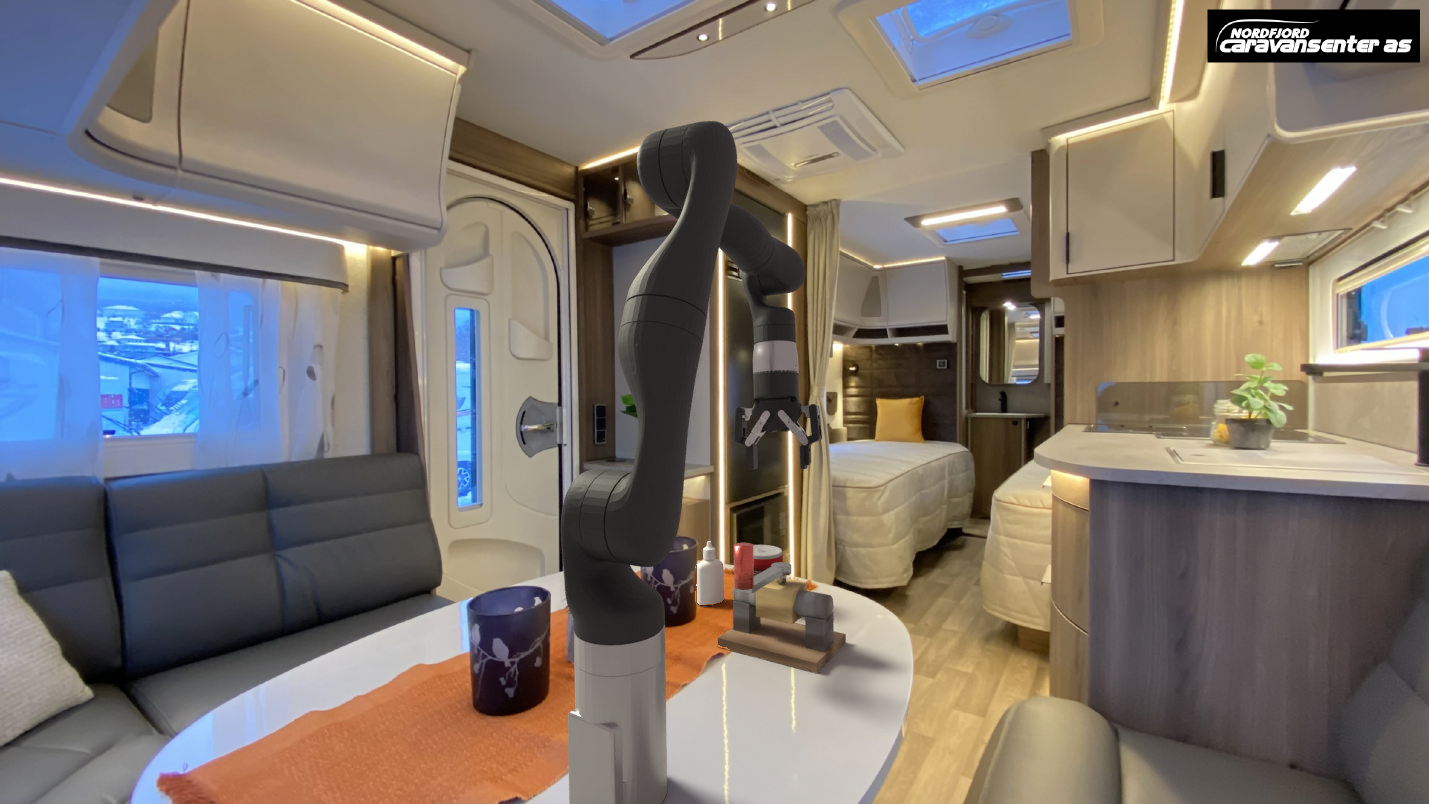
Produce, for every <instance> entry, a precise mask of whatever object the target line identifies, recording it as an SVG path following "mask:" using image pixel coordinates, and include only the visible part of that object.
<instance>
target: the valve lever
mask: <svg viewBox="0 0 1429 804" xmlns="http://www.w3.org/2000/svg"><path fill="white" fill-rule="evenodd" d="M753 545H754V544H753V543H751V542H737V543H735V544H733V569H734V570H733V575H734V576H733V582H734V583H733V588H734V587H735V588H736V589H739V590H740V591H741V592H746V593H751V594H752V593H754V592H756V591H757V590H759V589H760V588H762V587H764V586H765V585H767V584H769V583H770V582H772V581H774V580H775V579H776V582H777V583H786V578H787V576H790V575H791V574H792V564H791V563H790V562H789V563H788V562H777V563H773V564H771V567H770V568H768V569H766V570H765V571H763V572H761V573H759V574H758V575H756V576H754V561H753Z"/></svg>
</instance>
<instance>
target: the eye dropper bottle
mask: <svg viewBox="0 0 1429 804" xmlns="http://www.w3.org/2000/svg"><path fill="white" fill-rule="evenodd" d="M716 553H717V551H716V547H714V546H713V545H712V540H708V541H706V546H705V547H703V548H702V556H703V557H702V558H703V559H702V560H700V561H699V562H698V563H697V564H696V565H697V584H696V586H697V603H698V604H699V605H698V604H697V603H696V604H697V605H698V606H700V605H706V604H714V603H718V602H721V601H723V600H725V571H724V570H725V569H724V567H725V566H724V563H723V562H722V561H721V560H720V559H717V558H716V557H717V554H716ZM723 602H724V601H723ZM721 603H722V602H721Z"/></svg>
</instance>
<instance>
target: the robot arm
mask: <svg viewBox="0 0 1429 804" xmlns="http://www.w3.org/2000/svg"><path fill="white" fill-rule="evenodd" d="M636 166H637V167H636V169H637V174H638V178H639V181H640V184H641V187H642V189H643V190H644V193H645V194H646V195H647V197H648V198H649V200H651V201H652V202H653V203H654V205H656V206H657V207H658V208H659V209H661V210H663V211H664V212H666V213H667V214H669V215H670V216H672V217H673V218H675V219H676V220H677V221H676V223H675V225H674V227H673V228H672V230H671V231H670V232H669V234H668V235H667V237H666V238H665V239H664V240H663V242H662V243H661V244H660V245H659V247H658V248H657V249H656V250H655V252H654V253H653V254H652V255H651V256H650V257H649V259H648V260H647V261H646V262H645V264H644V265H643V266H642V268H641V269H640V271H639V272H638V274H637V275H636V276H635V278H634V280H633V281H632V283H631V284H630V286H629V289H628V291H627V295H626V299H625V303H624V307H623V311H622V316H621V321H620V324H619V325H620V326H619V329H618V338H617V353H618V361H619V364H620V366H621V369H622V374H623V375H624V378H625V381H626V383H627V386H628V389H629V392H630V394H631V397H632V399H633V403H634V405H635V409H636V414H637V424H638V425H637V428H638V430H637V443H636V447H635V449H636V450H635V454H634V455H635V456H634V461H633V466H632V469H631V470H622V469H607V468H596V469H594V468H593V469H589V470H585V471H584V472H582V473H580V474H579V475H578V476H576V477H575V478H574V480H572V482H571V484H570V485H569V487H568V489H567V492H566V494H565V497H564V500H563V503H562V509H561V517H560V518H561V519H560V538H561V539H560V541H561V554H562V565H563V566H562V567H563V579H564V583H563V584H564V595H565V600H566V603H567V607H568V609H569V612H570V614H571V615H572V619H573V620H572V621H573V649H574V651H573V652H574V654H573V658H574V659H573V660H574V661H573V662H574V663H573V664H574V665H573V666H574V670H573V671H574V709H573V710H571V711H569V712H568V713H567V741H568V743H567V744H568V745H567V748H568V750H567V751H568V754H567V755H568V757H567V758H568V795H569V796H568V801H569V804H662V803H663V802H664V800H665V797H666V795H667V793H668V751H667V750H668V748H667V747H668V746H667V689H666V688H667V684H666V682H667V681H666V677H667V676H666V624H665V623H666V620H665V619H666V617H665V616H666V615H665V614H666V613H665V612H666V610H665V601H664V599H663V597H662V595H661V593H660V592H658V591H657V590H656V589H655V588H653V586H651V585H649V584H648V583H647V582H645V581H644V580H643V579H642V578H641V577H640V576H639V575H638V574H637V573H636V572H635V571H634V569H633V567H632V566H634V567H639V568H652V567H655V566H658V565H659V564H662V562H663V561H664V560H665V559H666V558H667V557H668V555H669V554H670V553H671V550H672V549H673V547H674V544H675V541H676V538H677V536H678V531H679V528H680V522H681V515H682V510H683V497H684V488H685V487H684V486H685V485H684V484H685V472H686V460H687V459H686V457H687V447H688V445H687V444H688V437H689V426H690V418H691V417H690V416H691V410H692V403H693V397H694V390H695V386H696V378H697V372H698V367H699V363H700V359H701V353H702V348H703V343H704V339H705V332H706V326H707V319H708V312H709V304H710V303H709V302H710V297H711V292H712V291H711V290H712V284H713V280H714V279H713V278H714V273H715V268H716V262H717V258H718V257H717V256H718V253H719V249H720V250H721V251H722V252H723V253H724V254H725V255H726V256H727V257H728V258H729V260H730V261H731V262H732V263H733V264H734V265H735V266H736V267H737V268H738V269H739V270H740V272H741V273H740V276H741V282H742V285H743V289H744V292H745V295H746V298H747V301H748V304H749V309H750V312H751V317H752V325H753V326H752V327H753V354H752V372H753V373H752V374H753V375H752V376H753V377H752V379H753V406H752V408H751V407H750V408H746V407H741V406H738V407H736V408H735V420H734V421H735V422H734V424H735V425H734V441H735V442H736V443H737V444H742V445H744V447H745V454H746V455H745V458H746V461H745V462H746V464H747V466H749V468H750V470H757V469H758V467H759V462H758V461H759V459H758V446H756V445H757V443H758V442H759V441H760V439H761V438H762V437H763V436H764V435H765V433H766V432H767V433H776V432H783V433H785V432H786V433H787V432H789V431H790V432H791V433H792V435H793V436H795V437H796V439H797V440H798V441H799V443H800V446H799V461H800V463H799V465H800V469H801V470H808V467H809V466H811V464H812V445H813V444H814V443H815V444H816V443H817V442H820V441H822V439H823V430H822V419H821V412H820V406H819V404H815V403H812V404H809V405H802V404H801V401H800V375H799V374H800V373H799V371H800V363H799V356H798V355H799V353H798V349H797V335H796V334H797V332H796V331H797V330H796V315H795V312H794V310H792V309H791V308H789V307H784V306H774V305H770V304H769V303H768V299H767V297H771V296H775V295H776V296H777V295H784V294H791V293H795V292H797V291H798V290H799V289H800V288H801V287H802V285H804V282H805V279H806V267H805V266H806V265H805V263H804V260H803V259H802V257H801V255H800V254H799V253H798V252H797V251H796V249H794V248H793V247H792V246H790V245H788V244H786V243H785V242H783V241H782V240H780V239H778V238H776V237H773V236H772V235H771V233H770V231H769V230H768V229H767V228H766V226H765V225H764V224H763V222H762V221H761V220H760V219H759V218H758V217H757V216H756V215H754V214H753V213H752V212H750V211H748V210H747V209H746V208H744V207H741V206H739V205H737V204H734V203H732V200H733V197H734V194H735V193H734V192H735V188H736V183H737V173H738V150H737V145H736V142H735V138H734V136H733V133H732V131H731V130H730V129H729V128H728V127H727V126H726V125H725V124H724V123H723V122H720V121H717V120H705V121H696V122H692V123H688V124H682V125H680V126H674V127H670V128H664V129H660V130H657V131H654V132H652V133H651V134H649V135H647V136H645V137H644V138H643V139H642V141H641V143H640V145H639V147H638V150H637V158H636ZM803 413H804V415H805V417H806V418H808V419H809V422H810V431H811V432H810V433H811V435H808V434H807V432H806V431H805V429H804V428H803V427H802V426H801V424H800V423H799V422H798V420H799V419H800V417H801V416H802V415H803ZM751 415H752V416H753V418H754V419H755V421H756V423H755V425H754V426H753V428H752V429H751V432H750V434H749V435H748V436H747V423H748V421H749V420H750V419H751Z"/></svg>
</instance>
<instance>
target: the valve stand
mask: <svg viewBox="0 0 1429 804" xmlns="http://www.w3.org/2000/svg"><path fill="white" fill-rule="evenodd" d="M732 599H733V601H732V628H730V629H729V630H728V631H726V632H724V633H723V634H722V635H720V636H718V637H717V646H718V645H720V646H722V647H727V648H728V649H730V650H729V651H731V652H735V653H739V654H742V655H746V656H749V657H754V658H756V659H761V660H765V661H769V662H771V663H776V664H779V665H784V666H787V667H790V668H791V667H792V668H794V669H798V670H801V671H806V672H810V673H813V674H818V672H820V671H821V670H822V669H823V667H825V665H826V664H827V663H828V662H829V661H830V660H831V659H832V658H833V657H834V656H835V655H836V654H837V653H838V652H839V651H840V650H841V649H842V648H844V647H843V646H845V644H846V642H847V634H846V633H843V632H838V631H834V629H835V628H834V627H835V626H834V611H833V610H834V599H833V596H832V595H831V594H826V593H822V592H817V591H816V592H815V591H812V590H811V591H810V590H808V582H807V581H803V580H798V579H791V578H787V577H786V583H777V582H776V579H775V580H774V581H772V582H770V583H769V584H767V585H765V586H764V587H762V588H760V589H759V590H757V591H756V592H754V593H752V594H751V593H746V592H741V591H740V590H739V589H736V588H735V587H734V586H733V589H732ZM801 618H804V619H805V620H804V621H805V622H804V624H802V623H797V621H799V620H800V619H801Z"/></svg>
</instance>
